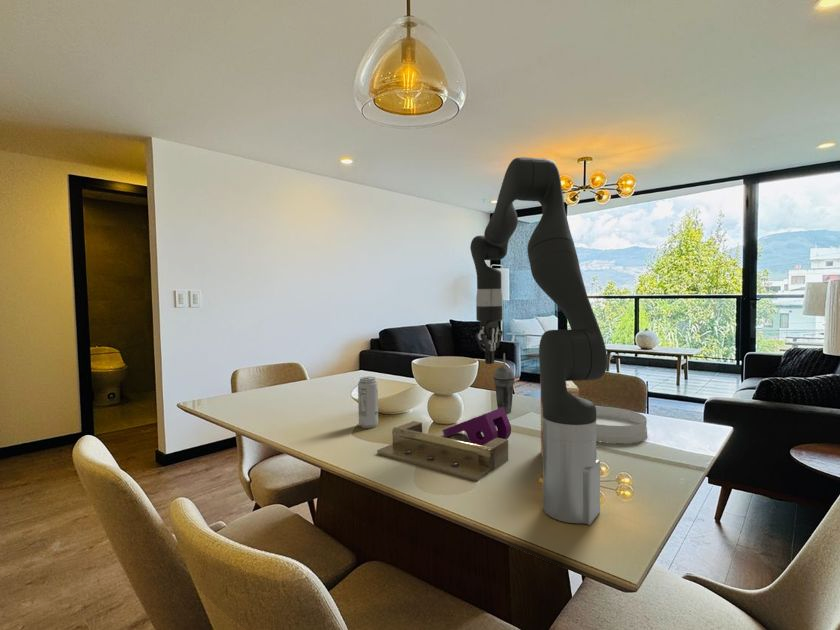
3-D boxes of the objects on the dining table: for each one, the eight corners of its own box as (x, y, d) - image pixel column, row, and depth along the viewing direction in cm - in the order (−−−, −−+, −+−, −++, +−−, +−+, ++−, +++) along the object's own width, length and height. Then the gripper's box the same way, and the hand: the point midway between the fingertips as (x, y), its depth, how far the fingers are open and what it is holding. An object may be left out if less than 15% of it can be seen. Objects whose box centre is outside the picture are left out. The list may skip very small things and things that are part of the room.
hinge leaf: (508, 460, 106) (508, 438, 106) (476, 481, 94) (476, 457, 94) (413, 438, 124) (413, 420, 124) (377, 454, 112) (376, 433, 112)
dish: (565, 440, 121) (565, 422, 121) (564, 419, 142) (563, 404, 142) (655, 447, 114) (655, 428, 114) (639, 424, 135) (640, 408, 135)
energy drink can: (380, 427, 136) (379, 378, 135) (361, 429, 134) (360, 380, 133) (375, 422, 141) (374, 375, 141) (356, 424, 139) (355, 377, 139)
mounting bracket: (446, 462, 122) (497, 446, 111) (435, 432, 124) (484, 414, 113) (466, 452, 129) (515, 437, 118) (455, 424, 131) (503, 406, 120)
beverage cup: (492, 413, 150) (491, 354, 149) (495, 408, 156) (494, 352, 156) (514, 414, 147) (513, 355, 147) (516, 409, 154) (515, 352, 154)
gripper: (490, 305, 121) (490, 368, 122) (511, 304, 131) (511, 361, 132) (466, 305, 125) (467, 365, 126) (488, 303, 136) (489, 359, 137)
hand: (489, 363), depth 129 cm, fingers closed
